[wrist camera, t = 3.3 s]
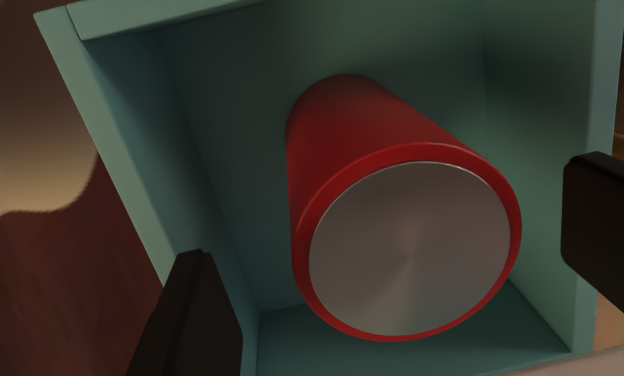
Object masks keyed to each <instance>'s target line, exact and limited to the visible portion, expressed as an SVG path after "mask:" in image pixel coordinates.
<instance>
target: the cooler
mask: <svg viewBox="0 0 624 376" xmlns="http://www.w3.org/2000/svg"><path fill="white" fill-rule="evenodd" d="M33 16H34V19H35V21H36V23H37V25H38V27H39V29H40V31H41V33H42V36H43V37H44V40H45V42H46V44H47V46H48V48H49V50H50V52H51V54H52V56H53V58H54V61H55V63H56V65H57V67H58V69H59V71H60V73H61V75H62V77H63V79H64V81H65V83H66V85H67V87H68V90H69V92H70V93H71V96H72V98H73V100H74V102H75V104H76V106H77V108H78V110H79V112H80V114H81V116H82V118H83V120H84V123H85V125H86V127H87V129H88V131H89V133H90V135H91V137H92V139H93V141H94V144H95V146H96V148H97V150H98V152H99V154H100V156H101V158H102V160H103V162H104V164H105V166H106V168H107V171H108V173H109V175H110V177H111V179H112V181H113V183H114V185H115V187H116V189H117V191H118V193H119V195H120V198H121V200H122V202H123V204H124V206H125V208H126V210H127V212H128V214H129V216H130V218H131V220H132V222H133V224H134V227H135V229H136V231H137V233H138V235H139V237H140V239H141V241H142V243H143V245H144V247H145V249H146V251H147V254H148V256H149V258H150V260H151V262H152V264H153V266H154V268H155V270H156V272H157V274H158V276H159V278H160V281H161V283H162V285H163V287H164V286H165V283H166V281H167V278H168V276H169V273H170V271H171V268H172V266H173V264H174V261H175V259H176V256H177V255H178V254H179V253H182V252H186V251H190V250H194V249H199V248H200V249H202V250H203V252H204V253H205V252H210V253H211V255H212V257H213V259H214V262H215V264H216V267H217V269H218V272H219V274H220V277H221V279H222V282H223V284H224V287H225V289H226V292H227V294H228V297H229V299H230V302H231V304H232V307H233V310H234V312H235V315H236V317H237V320H238V322H239V325H240V327H241V330H242V334H243V350H242V361H241V371H240V376H494V375H498V374H502V373H506V372H510V371H515V370H519V369H523V368H527V367H531V366H535V365H540V364H544V363H548V362H552V361H556V360H561V359H565V358H569V357H573V356H577V355H582V354H586V353H590V352H593V341H594V331H595V321H596V310H597V300H598V291H597V290H596V289H595V288H594V287H592V286H591V285H590V284H589V283H588V282H587V281H585V280H584V279H583V278H582V277H581V276H579V275H578V274H577V273H576V272H575V271H574V270H572V269H571V268H570V267H569V266H568V265H567V264H566V263H565V262H564V261H563V259H562V257H561V253H560V242H561V216H562V189H563V169H564V166H565V165H566V164H568V162H569V160H570V159H571V158H572V157H573V156H577V155H581V154H585V153H590V152H594V151H600V152H603V153H605V154H607V155H610V156H611V155H612V144H613V134H614V124H615V113H616V103H617V92H618V82H619V72H620V61H621V51H622V41H623V30H624V0H83V1H80V2H75V3H71V4H68V5H67V6H60V7H56V8H52V9H48V10H45V11H40V12H36V13H35V14H34V15H33ZM340 74H354V75H360V76H364V77H367V78H370V79H372V80H374V81H376V82H377V83H379V84H381V85H382V86H383V87H385V88H386V89H388V90H389V91H391V92H392V93H393V94H395V95H396V96H398V97H399V98H400V99H402V100H403V101H405V102H406V103H407V104H409V105H410V106H412V107H413V108H415V109H416V110H417V111H419V112H420V113H422V114H423V115H424V116H426V117H427V118H429V119H430V120H432V121H433V122H434V123H436V124H437V125H439V126H440V127H441V128H443V129H444V130H446V131H447V132H448V133H450V134H451V135H453V136H454V137H456V138H457V139H458V140H460V141H461V142H463V143H464V144H465V145H467V146H468V147H470V148H471V149H473V150H474V151H475V152H477V153H478V154H480V155H481V156H482V157H484V158H485V159H486V160H488V161H489V162H490V163H492V164H493V165H494V166H495V167H496V168H497V169H498V170H499V171H500V172H501V173H502V174H503V175H504V176H505V178H506V179H507V181H508V182H509V184H510V185H511V187H512V188H513V191H514V193H515V195H516V198H517V200H518V204H519V208H520V212H521V220H522V236H521V243H520V248H519V252H518V255H517V258H516V261H515V264H514V266H513V268H512V270H511V272H510V274H509V276H508V277H507V279H506V280H505V282H504V283H503V285H502V286H501V288H500V289H499V290H498V291H497V293H496V294H495V295H494V296H493V297H492V298H491V299H490V300H489V301H488V302H487V303H486V304H485V305H484V306H483V307H482V308H481V309H479V310H478V311H477V312H475V313H474V314H473V315H472V316H470V317H469V318H467V319H465V320H464V321H462V322H461V323H459V324H457V325H455V326H453V327H451V328H449V329H447V330H445V331H442V332H439V333H437V334H434V335H431V336H427V337H424V338H420V339H414V340H409V341H398V342H381V341H373V340H366V339H362V338H358V337H354V336H352V335H349V334H346V333H344V332H342V331H340V330H338V329H336V328H334V327H332V326H331V325H329V324H328V323H326V322H325V321H324V320H322V319H321V318H320V317H319V316H318V315H317V314H316V313H315V312H314V311H313V310H312V309H311V308H310V306H309V305H308V304H307V303H306V302H305V300H304V298H303V297H302V295H301V293H300V291H299V289H298V287H297V284H296V281H295V279H294V274H293V270H292V260H291V241H290V222H289V203H288V184H287V165H286V146H285V127H286V122H287V118H288V115H289V113H290V110H291V108H292V107H293V105H294V103H295V102H296V100H297V99H298V98H299V96H300V95H301V94H302V93H303V92H304V91H305V90H306V89H308V88H309V87H310V86H311V85H313V84H315V83H316V82H318V81H320V80H322V79H324V78H327V77H330V76H334V75H340Z"/></svg>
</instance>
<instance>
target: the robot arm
mask: <svg viewBox="0 0 624 376" xmlns="http://www.w3.org/2000/svg"><path fill="white" fill-rule="evenodd" d="M560 253H561V257H562V259H563V261H564V262H565V263H566V264H567V265H568V266H569V267H570V268H571V269H572V270H574V271H575V272H576V273H577V274H578V275H579V276H581V277H582V278H583V279H584V280H585V281H587V282H588V283H589V284H590V285H591V286H592V287H594V288H595V289H596V290H597V291H598V292H599V293H601V294H602V295H603V296H604V297H605V298H607V299H608V300H609V301H610V302H611V303H612V304H614V305H615V306H616V307H617V308H618V309H620V310H621V311H622V312H623V313H624V161H622V160H620V159H617V158H615V157H612V156H610V155H607V154H605V153H603V152H600V151H594V152H590V153H585V154H581V155H577V156H573V157H572V158H571V159H570V160H569V162H568V164H566V165H565V166H564V169H563V189H562V216H561V242H560ZM242 350H243V334H242V330H241V327H240V325H239V322H238V320H237V317H236V315H235V312H234V310H233V307H232V304H231V302H230V299H229V297H228V294H227V292H226V289H225V287H224V284H223V282H222V279H221V277H220V274H219V272H218V269H217V267H216V264H215V262H214V259H213V257H212V255H211V253H210V252H205V253H204V252H203V250H202V249H200V248H199V249H194V250H190V251H186V252H182V253H179V254H178V255H177V256H176V259H175V261H174V264H173V266H172V268H171V271H170V273H169V276H168V278H167V281H166V283H165V286H164V288H163V290H162V293H161V295H160V298H159V300H158V303H157V305H156V308H155V310H154V312H152V313H151V315H150V317H149V319H148V321H147V324H146V326H145V329H144V331H143V333H142V336H141V338H140V341H139V343H138V345H137V348H136V350H135V353H134V355H133V357H132V360H131V362H130V365H129V367H128V369H127V372H126V374H125V376H240V371H241V361H242ZM494 376H624V345H620V346H615V347H611V348H607V349H603V350H598V351H594V352H590V353H586V354H582V355H577V356H573V357H569V358H565V359H561V360H556V361H552V362H548V363H544V364H540V365H535V366H531V367H527V368H523V369H519V370H515V371H510V372H506V373H502V374H498V375H494Z"/></svg>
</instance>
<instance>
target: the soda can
mask: <svg viewBox="0 0 624 376" xmlns="http://www.w3.org/2000/svg"><path fill="white" fill-rule="evenodd" d="M285 146H286V165H287V184H288V203H289V222H290V241H291V260H292V270H293V274H294V279H295V281H296V284H297V287H298V289H299V291H300V293H301V295H302V297H303V298H304V300H305V302H306V303H307V304H308V305H309V306H310V308H311V309H312V310H313V311H314V312H315V313H316V314H317V315H318V316H319V317H320V318H321V319H322V320H324V321H325V322H326V323H328V324H329V325H331V326H332V327H334V328H336V329H338V330H340V331H342V332H344V333H346V334H349V335H352V336H354V337H358V338H362V339H366V340H373V341H381V342H398V341H409V340H414V339H420V338H424V337H427V336H431V335H434V334H437V333H439V332H442V331H445V330H447V329H449V328H451V327H453V326H455V325H457V324H459V323H461V322H462V321H464V320H465V319H467V318H469V317H470V316H472V315H473V314H474V313H475V312H477V311H478V310H479V309H481V308H482V307H483V306H484V305H485V304H486V303H487V302H488V301H489V300H490V299H491V298H492V297H493V296H494V295H495V294H496V293H497V291H498V290H499V289H500V288H501V286H502V285H503V283H504V282H505V280H506V279H507V277H508V276H509V274H510V272H511V270H512V268H513V266H514V264H515V261H516V258H517V255H518V252H519V248H520V243H521V236H522V220H521V212H520V208H519V204H518V200H517V198H516V195H515V193H514V191H513V188H512V187H511V185H510V184H509V182H508V181H507V179H506V178H505V176H504V175H503V174H502V173H501V172H500V171H499V170H498V169H497V168H496V167H495V166H494V165H493V164H492V163H490V162H489V161H488V160H486V159H485V158H484V157H482V156H481V155H480V154H478V153H477V152H475V151H474V150H473V149H471V148H470V147H468V146H467V145H465V144H464V143H463V142H461V141H460V140H458V139H457V138H456V137H454V136H453V135H451V134H450V133H448V132H447V131H446V130H444V129H443V128H441V127H440V126H439V125H437V124H436V123H434V122H433V121H432V120H430V119H429V118H427V117H426V116H424V115H423V114H422V113H420V112H419V111H417V110H416V109H415V108H413V107H412V106H410V105H409V104H407V103H406V102H405V101H403V100H402V99H400V98H399V97H398V96H396V95H395V94H393V93H392V92H391V91H389V90H388V89H386V88H385V87H383V86H382V85H381V84H379V83H377V82H376V81H374V80H372V79H370V78H367V77H364V76H360V75H354V74H340V75H334V76H330V77H327V78H324V79H322V80H320V81H318V82H316V83H315V84H313V85H311V86H310V87H309V88H308V89H306V90H305V91H304V92H303V93H302V94H301V95H300V96H299V98H298V99H297V100H296V102H295V103H294V105H293V107H292V108H291V110H290V113H289V115H288V118H287V122H286V127H285Z"/></svg>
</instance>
